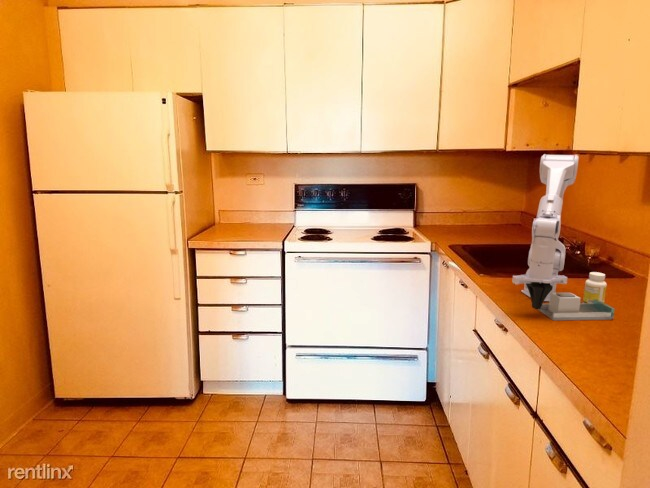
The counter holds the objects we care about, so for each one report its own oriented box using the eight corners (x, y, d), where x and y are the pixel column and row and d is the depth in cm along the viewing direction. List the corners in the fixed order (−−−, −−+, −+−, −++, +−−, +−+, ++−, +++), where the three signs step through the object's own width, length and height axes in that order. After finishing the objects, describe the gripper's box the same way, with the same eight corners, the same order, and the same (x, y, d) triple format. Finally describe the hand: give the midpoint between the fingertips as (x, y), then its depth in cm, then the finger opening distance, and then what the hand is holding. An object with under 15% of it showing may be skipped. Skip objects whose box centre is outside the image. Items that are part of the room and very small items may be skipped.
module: (548, 309, 124) (550, 291, 122) (568, 309, 124) (570, 291, 123) (557, 315, 119) (559, 297, 118) (578, 315, 120) (581, 297, 118)
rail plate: (553, 320, 118) (554, 309, 117) (538, 310, 125) (539, 299, 124) (612, 319, 119) (614, 308, 118) (594, 309, 126) (596, 299, 125)
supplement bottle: (595, 301, 133) (600, 271, 130) (607, 308, 127) (612, 276, 125) (578, 301, 132) (583, 271, 130) (589, 308, 127) (594, 276, 125)
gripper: (523, 265, 114) (517, 313, 116) (576, 264, 114) (569, 313, 117) (510, 258, 120) (505, 304, 123) (561, 258, 121) (554, 304, 124)
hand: (536, 308), depth 121 cm, fingers closed
